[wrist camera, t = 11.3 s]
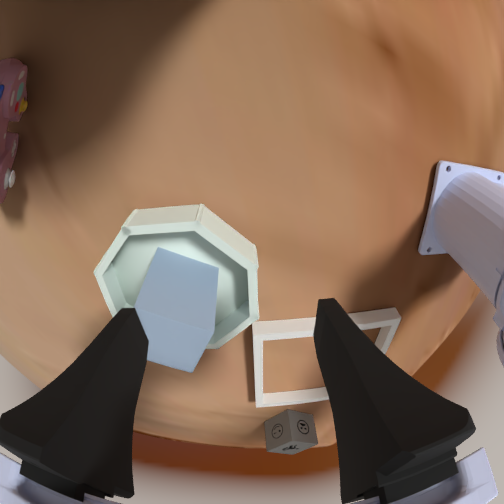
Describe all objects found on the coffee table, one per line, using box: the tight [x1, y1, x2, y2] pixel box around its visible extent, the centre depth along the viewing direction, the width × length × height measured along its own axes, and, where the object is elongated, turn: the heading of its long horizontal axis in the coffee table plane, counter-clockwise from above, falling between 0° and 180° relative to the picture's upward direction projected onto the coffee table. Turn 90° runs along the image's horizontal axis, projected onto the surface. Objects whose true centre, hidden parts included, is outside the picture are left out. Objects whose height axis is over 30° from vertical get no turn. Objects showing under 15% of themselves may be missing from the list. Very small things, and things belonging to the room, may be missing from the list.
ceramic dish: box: [94, 203, 259, 349], centre depth 20 cm, size 11×11×2 cm
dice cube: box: [264, 409, 318, 454], centre depth 33 cm, size 5×5×5 cm
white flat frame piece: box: [252, 307, 401, 407], centre depth 27 cm, size 14×14×2 cm
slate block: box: [134, 247, 219, 373], centre depth 18 cm, size 4×4×6 cm
